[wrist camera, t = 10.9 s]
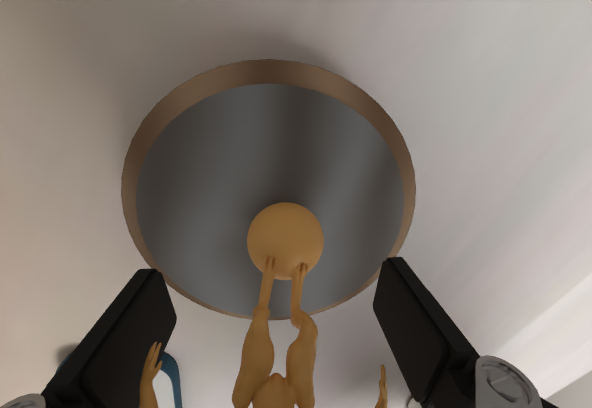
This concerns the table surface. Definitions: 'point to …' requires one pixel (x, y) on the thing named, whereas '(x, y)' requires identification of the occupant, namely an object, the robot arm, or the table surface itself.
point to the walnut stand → (266, 183)
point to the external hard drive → (164, 383)
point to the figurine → (257, 345)
